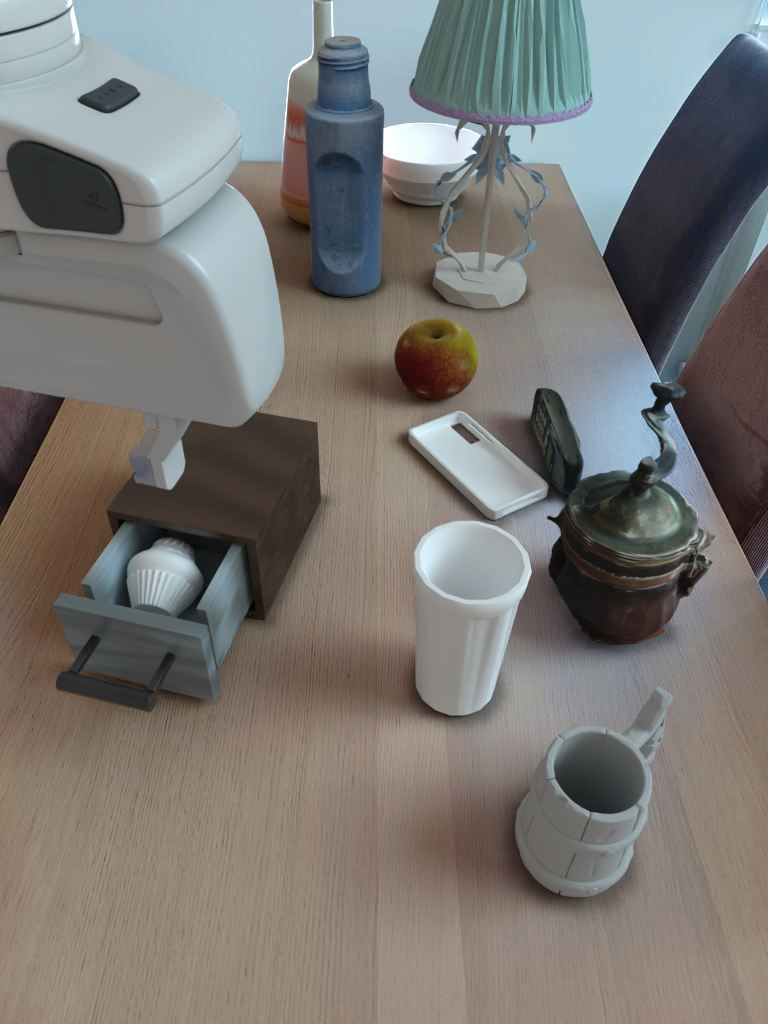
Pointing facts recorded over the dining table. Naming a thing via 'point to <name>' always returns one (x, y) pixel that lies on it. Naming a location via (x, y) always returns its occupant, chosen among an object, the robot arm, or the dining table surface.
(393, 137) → the bowl
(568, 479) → the mobile phone
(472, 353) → the fruit
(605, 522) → the coffee grinder
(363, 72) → the bottle
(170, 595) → the muffin
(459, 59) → the table lamp
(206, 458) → the cabinet
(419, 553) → the cup
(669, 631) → the dining table surface
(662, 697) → the mug
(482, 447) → the phone case
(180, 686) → the drawer
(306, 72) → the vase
